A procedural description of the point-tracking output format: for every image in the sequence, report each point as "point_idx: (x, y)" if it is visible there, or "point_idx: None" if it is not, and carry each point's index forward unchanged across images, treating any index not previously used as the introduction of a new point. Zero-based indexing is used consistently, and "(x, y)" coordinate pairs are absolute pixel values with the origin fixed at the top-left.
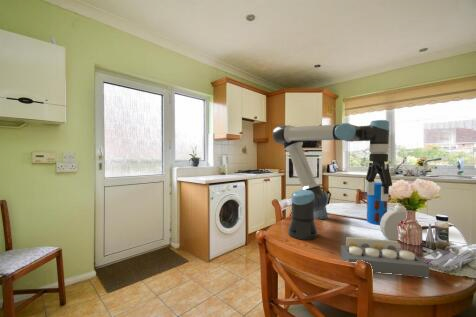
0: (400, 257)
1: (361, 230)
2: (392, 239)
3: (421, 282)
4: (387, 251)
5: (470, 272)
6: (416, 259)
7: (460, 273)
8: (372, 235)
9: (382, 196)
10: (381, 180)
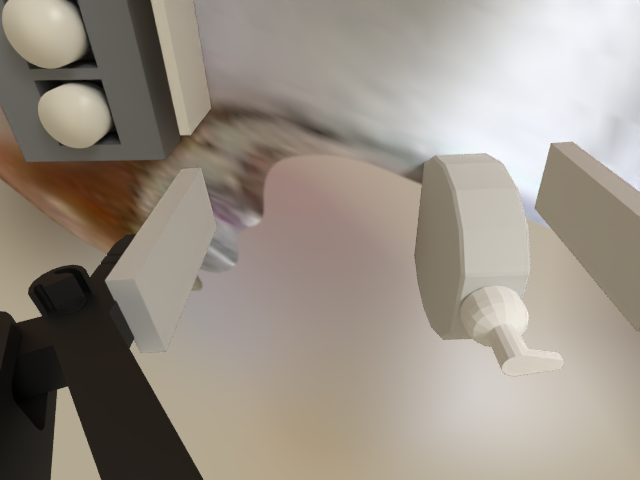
0: (67, 83)
1: (582, 60)
2: (423, 177)
3: None
4: (33, 23)
5: None
6: None
7: None
8: (490, 99)
9: (167, 200)
10: (109, 366)
